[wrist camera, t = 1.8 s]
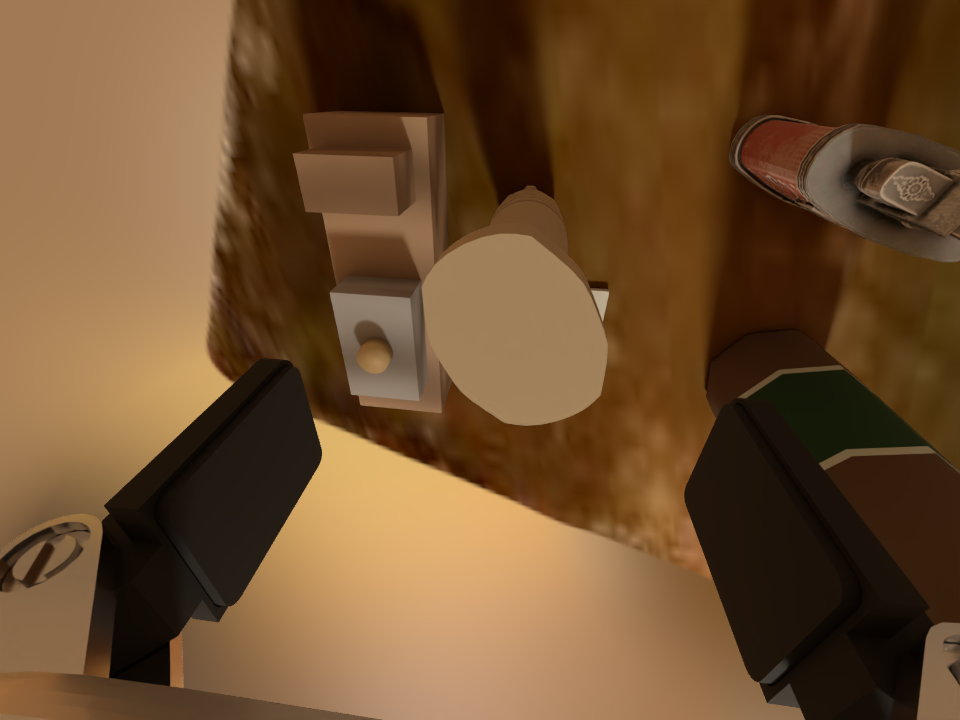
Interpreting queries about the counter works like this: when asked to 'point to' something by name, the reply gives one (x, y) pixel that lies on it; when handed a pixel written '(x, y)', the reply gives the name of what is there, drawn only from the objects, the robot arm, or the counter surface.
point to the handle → (517, 316)
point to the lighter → (859, 180)
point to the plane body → (381, 245)
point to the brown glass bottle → (858, 454)
